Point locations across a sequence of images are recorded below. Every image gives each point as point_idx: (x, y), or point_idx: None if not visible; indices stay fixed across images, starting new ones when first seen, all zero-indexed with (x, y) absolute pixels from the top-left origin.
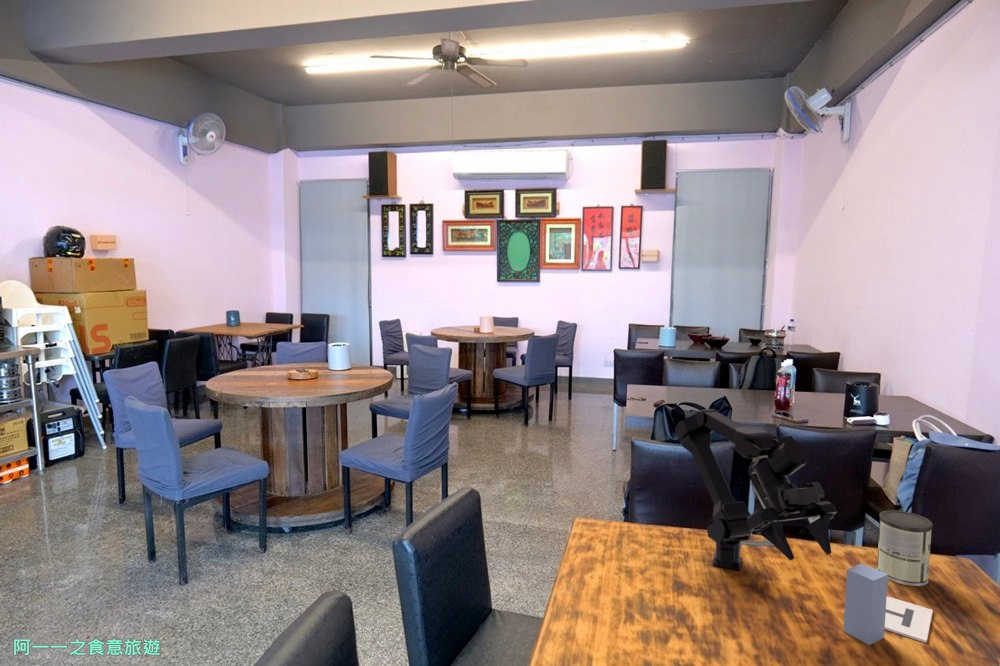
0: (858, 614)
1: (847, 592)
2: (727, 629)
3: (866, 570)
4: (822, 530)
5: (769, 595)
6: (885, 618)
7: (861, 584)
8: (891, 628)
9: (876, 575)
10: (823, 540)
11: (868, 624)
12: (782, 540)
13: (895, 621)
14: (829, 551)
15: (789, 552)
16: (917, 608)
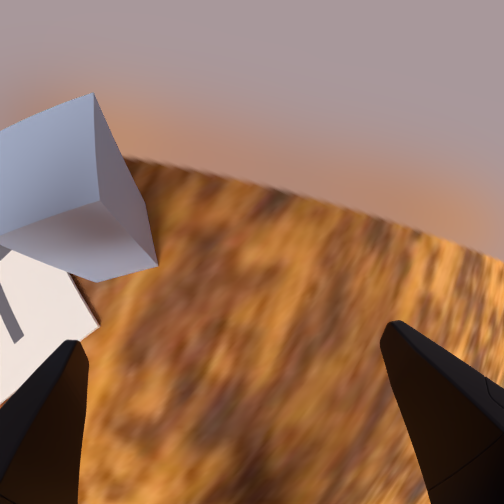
0: (136, 209)
1: (130, 229)
2: (427, 327)
3: (29, 172)
4: (10, 476)
5: (238, 458)
6: (25, 275)
7: (107, 153)
8: None
9: (37, 128)
10: (52, 425)
11: (135, 185)
12: (492, 383)
13: (16, 259)
14: (73, 346)
15: (428, 338)
16: None
